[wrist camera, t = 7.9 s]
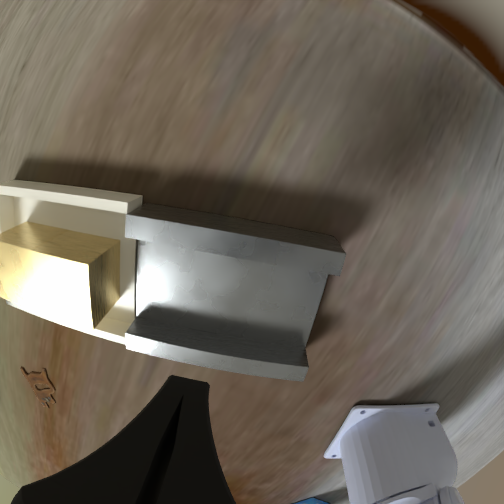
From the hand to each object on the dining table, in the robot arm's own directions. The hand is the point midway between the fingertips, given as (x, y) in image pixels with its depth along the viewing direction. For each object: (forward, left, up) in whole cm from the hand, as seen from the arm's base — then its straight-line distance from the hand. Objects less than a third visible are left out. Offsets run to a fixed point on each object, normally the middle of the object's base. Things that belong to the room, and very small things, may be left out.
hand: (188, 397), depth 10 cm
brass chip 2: (+8, 0, -9) cm, 12 cm away
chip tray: (+11, 0, -9) cm, 14 cm away
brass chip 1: (+12, 0, -9) cm, 15 cm away
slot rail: (0, 0, -9) cm, 9 cm away
